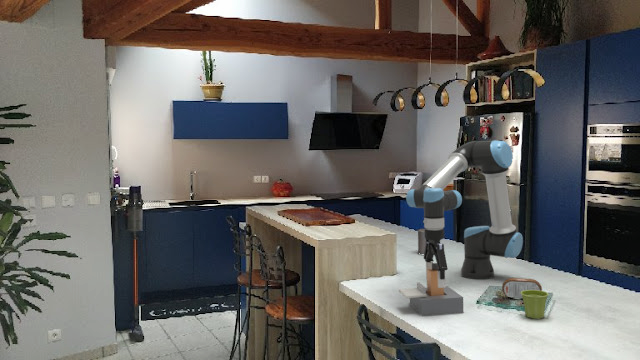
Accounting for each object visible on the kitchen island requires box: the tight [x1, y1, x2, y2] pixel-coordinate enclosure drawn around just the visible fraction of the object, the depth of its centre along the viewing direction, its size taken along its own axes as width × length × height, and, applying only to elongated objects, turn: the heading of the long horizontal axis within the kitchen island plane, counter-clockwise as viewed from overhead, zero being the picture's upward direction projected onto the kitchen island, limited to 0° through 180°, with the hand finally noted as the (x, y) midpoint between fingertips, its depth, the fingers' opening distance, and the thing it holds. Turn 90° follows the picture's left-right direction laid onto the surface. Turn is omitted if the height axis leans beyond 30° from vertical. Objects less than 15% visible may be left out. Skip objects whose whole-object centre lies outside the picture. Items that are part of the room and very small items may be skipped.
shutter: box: [398, 282, 427, 299], centre depth 216 cm, size 8×10×3 cm
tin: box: [501, 277, 543, 298], centre depth 226 cm, size 15×3×8 cm, turn 71°
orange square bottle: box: [426, 262, 444, 296], centre depth 217 cm, size 5×5×16 cm
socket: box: [409, 285, 464, 317], centre depth 218 cm, size 16×16×6 cm
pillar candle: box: [417, 228, 426, 254], centre depth 317 cm, size 10×10×15 cm
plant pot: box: [521, 290, 549, 320], centre depth 204 cm, size 9×9×9 cm
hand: (435, 282), depth 218 cm, fingers open, 13 cm apart
